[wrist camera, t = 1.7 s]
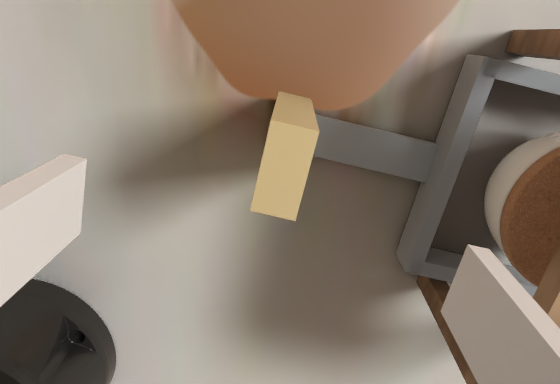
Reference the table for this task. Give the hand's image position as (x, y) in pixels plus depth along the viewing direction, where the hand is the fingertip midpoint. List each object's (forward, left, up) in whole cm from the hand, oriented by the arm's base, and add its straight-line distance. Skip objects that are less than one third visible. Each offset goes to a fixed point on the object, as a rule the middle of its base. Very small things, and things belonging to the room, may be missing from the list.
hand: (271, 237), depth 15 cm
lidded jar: (0, -20, -21) cm, 29 cm away
